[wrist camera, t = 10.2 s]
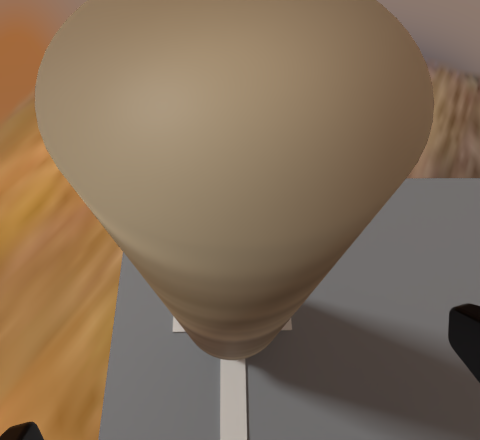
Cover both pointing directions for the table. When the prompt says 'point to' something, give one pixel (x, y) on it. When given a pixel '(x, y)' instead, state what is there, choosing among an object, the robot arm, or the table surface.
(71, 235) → the table surface
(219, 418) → the floor panel
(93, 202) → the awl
